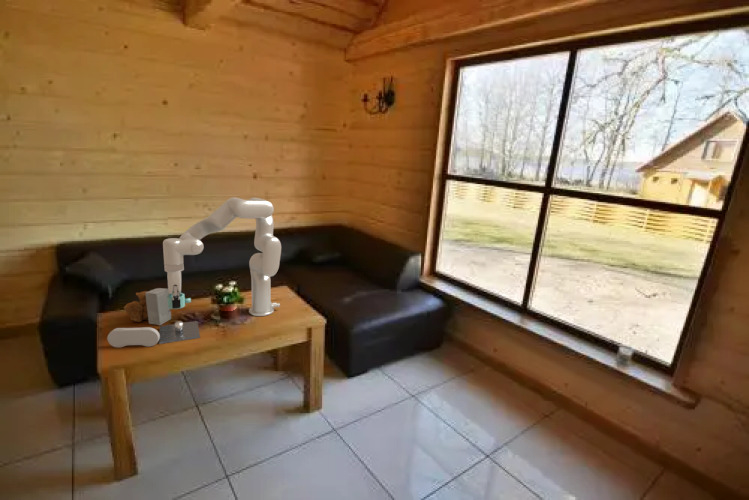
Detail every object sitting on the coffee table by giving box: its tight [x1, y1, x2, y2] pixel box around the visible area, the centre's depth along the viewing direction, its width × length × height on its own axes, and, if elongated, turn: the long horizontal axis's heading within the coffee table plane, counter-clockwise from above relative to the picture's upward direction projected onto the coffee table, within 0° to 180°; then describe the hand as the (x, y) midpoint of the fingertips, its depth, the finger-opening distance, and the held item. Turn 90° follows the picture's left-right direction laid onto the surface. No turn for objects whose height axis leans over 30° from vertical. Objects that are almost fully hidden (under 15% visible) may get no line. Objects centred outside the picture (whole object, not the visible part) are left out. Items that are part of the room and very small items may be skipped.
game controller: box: [106, 326, 160, 348], centre depth 161 cm, size 20×2×8 cm, turn 100°
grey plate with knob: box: [158, 320, 201, 345], centre depth 174 cm, size 16×16×5 cm
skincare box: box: [145, 287, 172, 326], centre depth 182 cm, size 8×7×16 cm
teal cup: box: [167, 292, 192, 310], centre depth 171 cm, size 7×9×5 cm
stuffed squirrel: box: [123, 290, 149, 323], centre depth 184 cm, size 10×14×13 cm
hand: (176, 304), depth 171 cm, fingers closed on teal cup, 6 cm apart
